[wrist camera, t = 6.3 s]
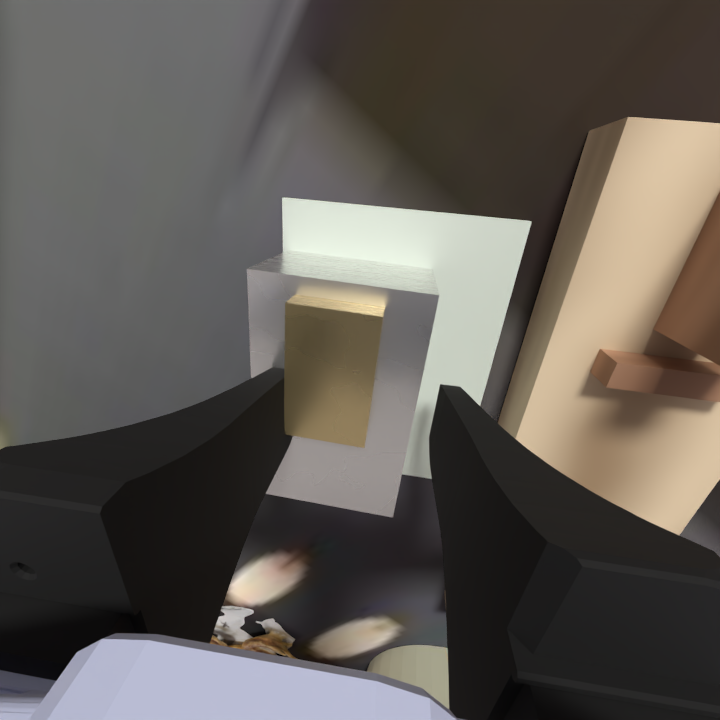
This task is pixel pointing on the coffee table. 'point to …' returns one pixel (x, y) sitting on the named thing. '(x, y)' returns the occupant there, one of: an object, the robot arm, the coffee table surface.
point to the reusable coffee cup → (416, 668)
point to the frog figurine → (237, 638)
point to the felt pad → (453, 278)
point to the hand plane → (631, 324)
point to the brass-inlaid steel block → (342, 370)
